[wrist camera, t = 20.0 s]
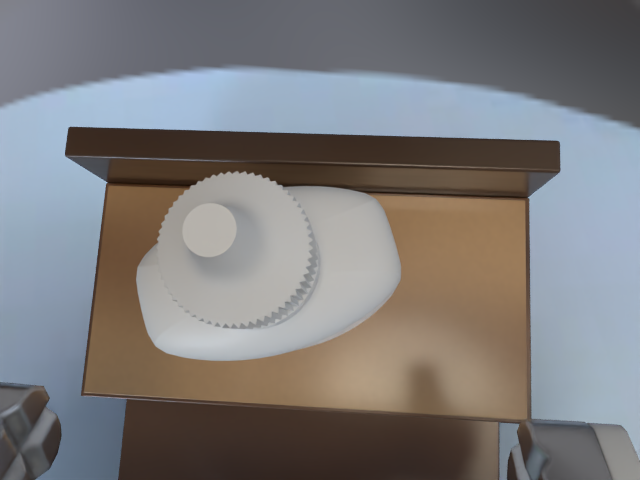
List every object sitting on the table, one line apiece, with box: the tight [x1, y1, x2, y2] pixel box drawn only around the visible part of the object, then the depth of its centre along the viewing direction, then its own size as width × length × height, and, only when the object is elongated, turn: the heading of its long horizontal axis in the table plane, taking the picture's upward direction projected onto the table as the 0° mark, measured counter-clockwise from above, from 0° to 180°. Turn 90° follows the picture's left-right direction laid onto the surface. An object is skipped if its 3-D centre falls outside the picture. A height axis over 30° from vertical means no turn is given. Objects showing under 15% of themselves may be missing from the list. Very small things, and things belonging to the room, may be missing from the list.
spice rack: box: [65, 127, 560, 480], centre depth 20 cm, size 16×15×10 cm
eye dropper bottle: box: [136, 171, 401, 361], centre depth 13 cm, size 4×6×12 cm
